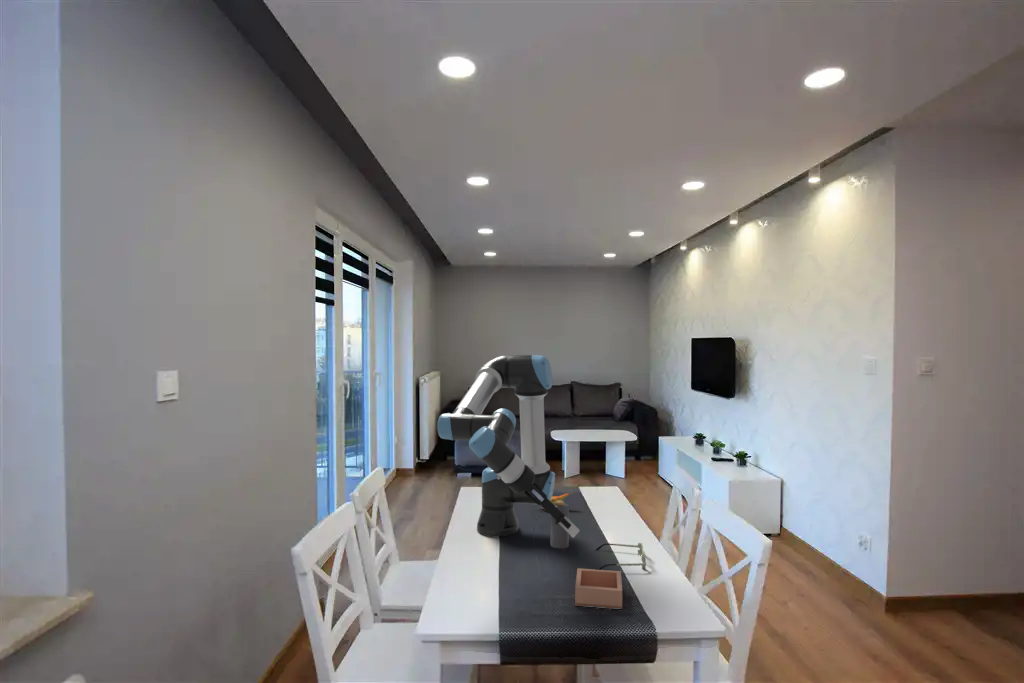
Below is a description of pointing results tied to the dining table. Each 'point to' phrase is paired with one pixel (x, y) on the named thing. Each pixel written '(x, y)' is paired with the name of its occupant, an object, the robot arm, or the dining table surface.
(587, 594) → the terracotta rectangular open box
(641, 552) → the sunglasses
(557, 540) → the battery cell
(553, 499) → the magic lamp
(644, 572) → the dining table surface
